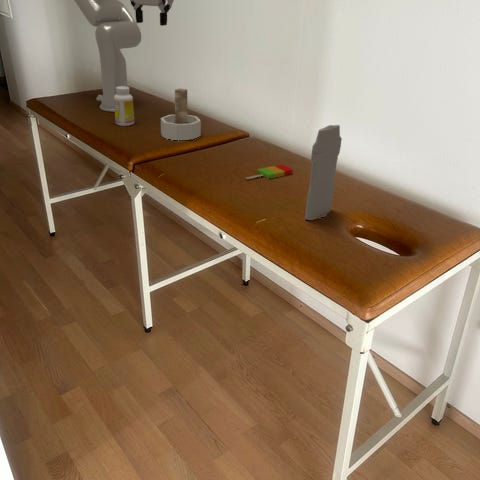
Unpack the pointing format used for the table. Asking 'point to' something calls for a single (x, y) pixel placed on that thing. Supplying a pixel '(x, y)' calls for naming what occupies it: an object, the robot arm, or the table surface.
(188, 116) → the grey hollow ring
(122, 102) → the supplement bottle
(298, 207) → the table surface
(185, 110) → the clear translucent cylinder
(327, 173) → the gray upright slab
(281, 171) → the popsicle
